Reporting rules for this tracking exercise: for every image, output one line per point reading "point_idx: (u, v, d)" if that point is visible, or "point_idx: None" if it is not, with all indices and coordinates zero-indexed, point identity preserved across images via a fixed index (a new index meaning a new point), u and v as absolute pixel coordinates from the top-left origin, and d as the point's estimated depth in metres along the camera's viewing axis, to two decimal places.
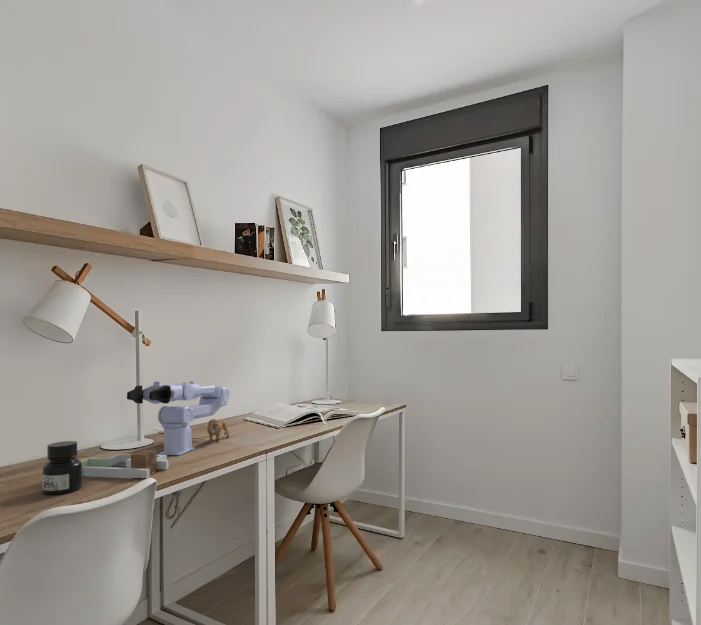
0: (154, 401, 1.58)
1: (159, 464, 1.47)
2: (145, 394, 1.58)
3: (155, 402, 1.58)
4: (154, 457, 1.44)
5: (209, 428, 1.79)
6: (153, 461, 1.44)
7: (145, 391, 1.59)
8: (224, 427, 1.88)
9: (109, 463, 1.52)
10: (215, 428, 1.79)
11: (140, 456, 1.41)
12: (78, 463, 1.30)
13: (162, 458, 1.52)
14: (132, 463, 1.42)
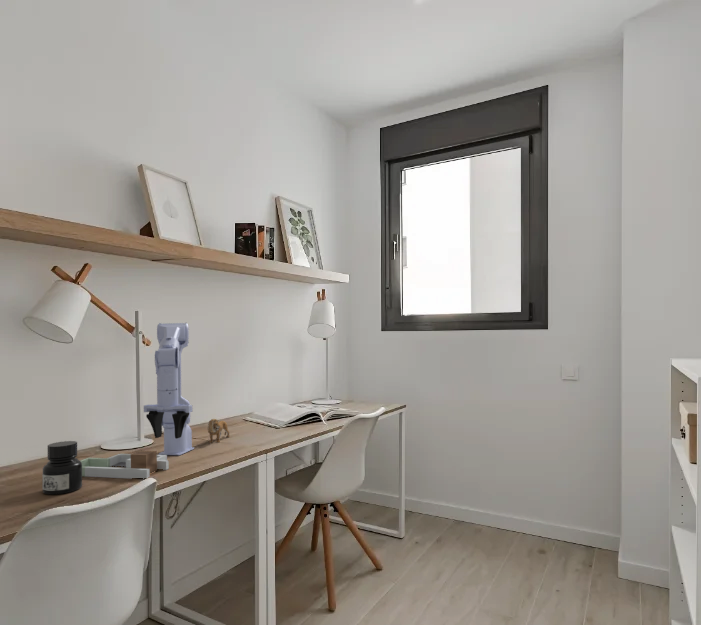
0: None
1: (159, 464, 1.47)
2: None
3: None
4: (154, 457, 1.44)
5: (209, 428, 1.80)
6: (153, 461, 1.44)
7: None
8: (224, 427, 1.89)
9: (109, 463, 1.52)
10: (215, 428, 1.80)
11: (140, 456, 1.41)
12: (78, 463, 1.30)
13: (162, 458, 1.52)
14: (132, 463, 1.42)
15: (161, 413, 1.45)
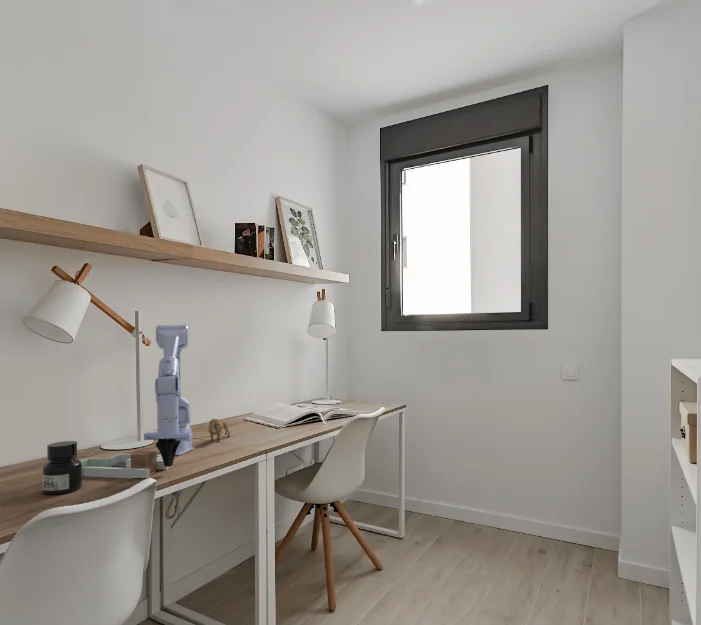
0: None
1: (159, 464, 1.47)
2: None
3: None
4: (154, 457, 1.44)
5: (210, 428, 1.80)
6: (153, 461, 1.44)
7: None
8: (225, 427, 1.89)
9: (109, 463, 1.52)
10: (216, 428, 1.80)
11: (140, 456, 1.41)
12: (78, 463, 1.30)
13: None
14: (132, 463, 1.42)
15: None
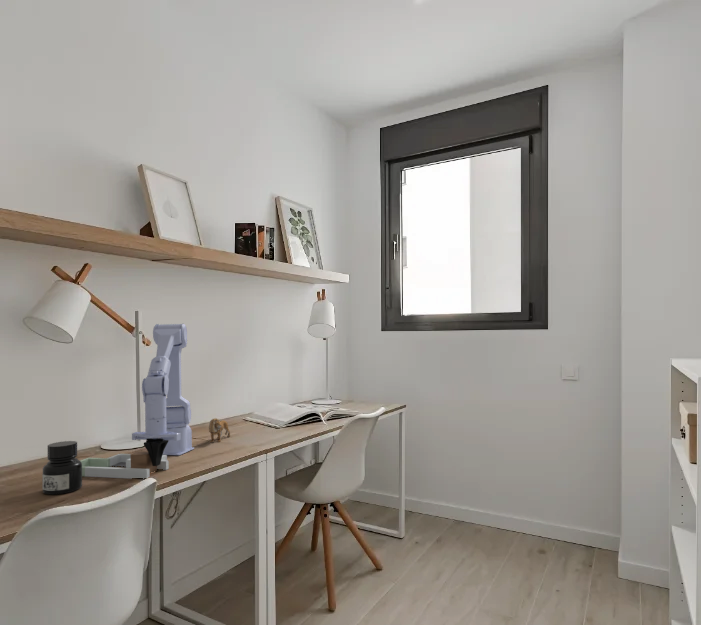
0: None
1: None
2: None
3: None
4: None
5: (211, 427, 1.80)
6: None
7: None
8: (225, 426, 1.89)
9: (109, 463, 1.52)
10: (217, 427, 1.81)
11: (140, 456, 1.41)
12: (78, 463, 1.30)
13: (162, 458, 1.52)
14: (132, 463, 1.42)
15: None
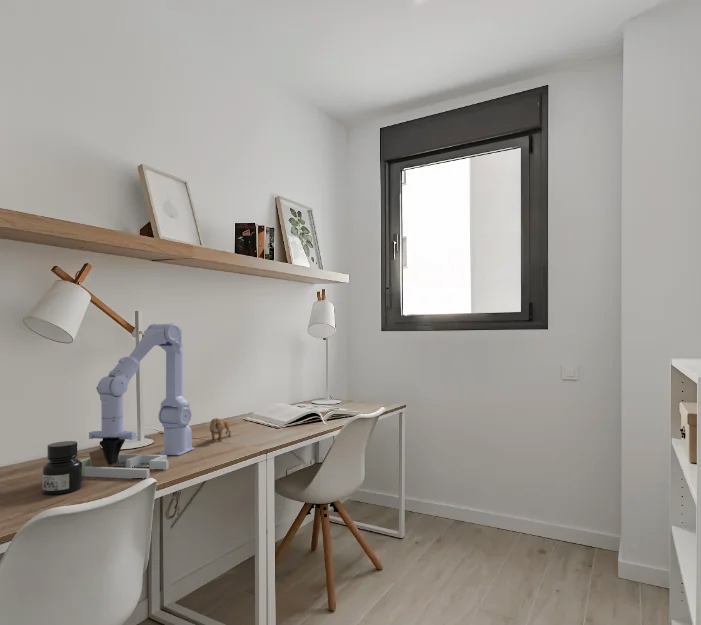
0: None
1: (159, 464, 1.47)
2: None
3: None
4: None
5: (212, 427, 1.81)
6: None
7: None
8: (226, 426, 1.90)
9: None
10: (218, 427, 1.81)
11: (97, 451, 1.45)
12: (78, 463, 1.30)
13: (162, 458, 1.52)
14: (92, 460, 1.46)
15: None
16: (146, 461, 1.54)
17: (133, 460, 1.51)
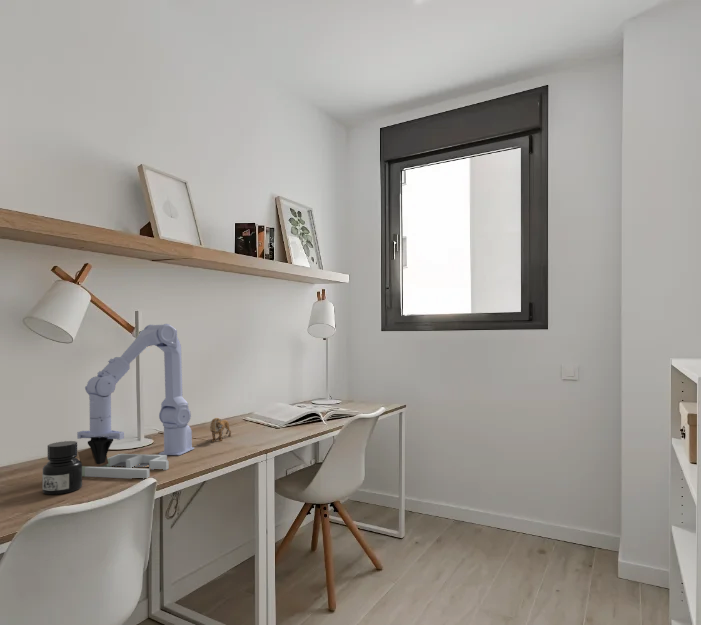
0: None
1: (159, 464, 1.47)
2: None
3: None
4: None
5: (212, 427, 1.82)
6: None
7: None
8: (226, 426, 1.90)
9: (109, 463, 1.52)
10: (218, 427, 1.82)
11: (86, 450, 1.47)
12: (78, 463, 1.30)
13: (162, 458, 1.52)
14: (81, 459, 1.47)
15: None
16: (146, 461, 1.54)
17: (133, 460, 1.51)
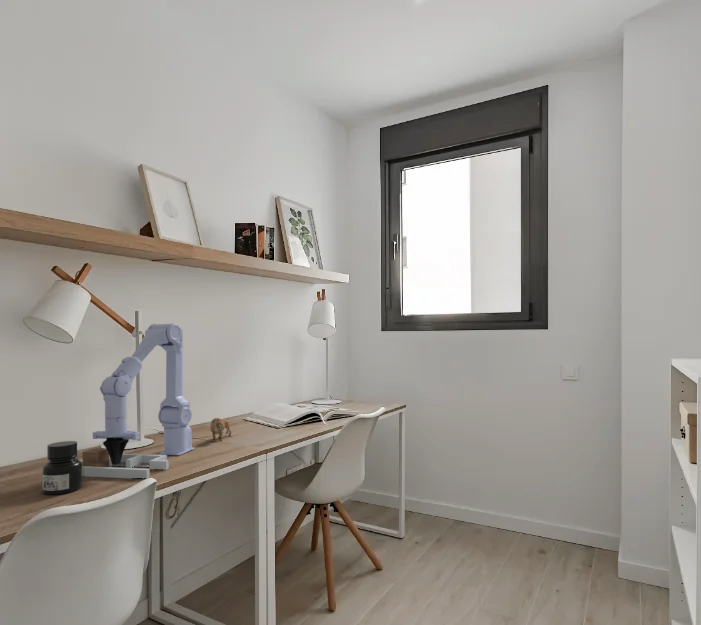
0: None
1: (159, 464, 1.47)
2: None
3: None
4: (106, 455, 1.49)
5: (212, 427, 1.82)
6: (105, 458, 1.49)
7: None
8: (226, 426, 1.91)
9: (109, 463, 1.52)
10: (218, 427, 1.82)
11: (91, 453, 1.46)
12: (78, 463, 1.30)
13: (162, 458, 1.52)
14: (84, 460, 1.47)
15: None
16: (146, 461, 1.54)
17: (133, 460, 1.51)
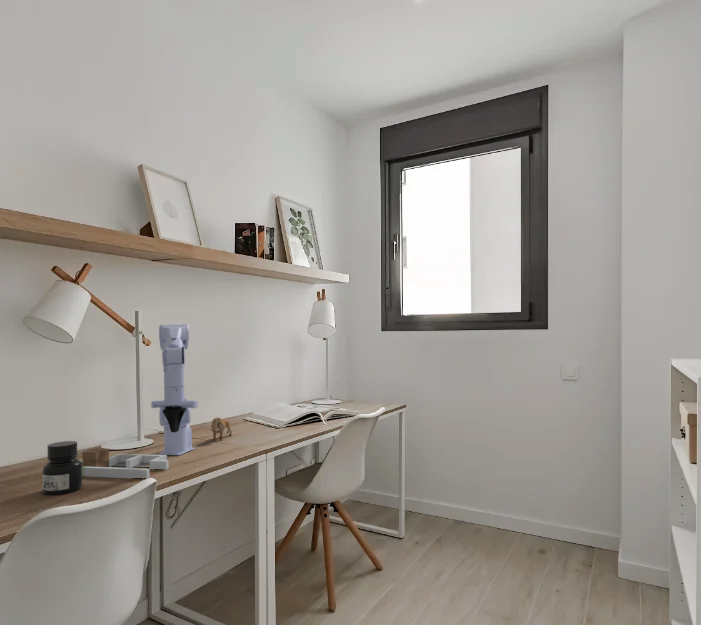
0: None
1: (159, 464, 1.47)
2: None
3: None
4: (106, 454, 1.49)
5: (213, 426, 1.82)
6: (105, 458, 1.49)
7: None
8: (227, 425, 1.91)
9: (109, 463, 1.52)
10: (219, 426, 1.83)
11: (91, 453, 1.46)
12: (78, 463, 1.30)
13: (162, 458, 1.52)
14: (84, 460, 1.47)
15: None
16: (146, 461, 1.54)
17: (133, 460, 1.51)
